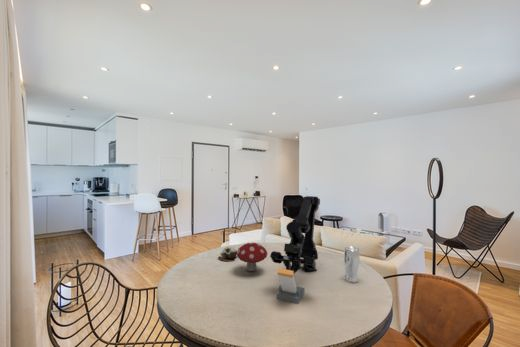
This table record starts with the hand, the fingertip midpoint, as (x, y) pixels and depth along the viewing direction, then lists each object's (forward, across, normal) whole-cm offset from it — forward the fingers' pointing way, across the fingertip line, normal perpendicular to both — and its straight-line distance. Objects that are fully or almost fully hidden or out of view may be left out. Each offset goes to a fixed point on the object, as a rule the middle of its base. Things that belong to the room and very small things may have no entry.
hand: (288, 279), depth 97 cm
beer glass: (-16, +22, +28) cm, 39 cm away
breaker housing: (+3, 0, +9) cm, 9 cm away
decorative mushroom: (-7, -26, +19) cm, 33 cm away
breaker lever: (+2, 0, +5) cm, 6 cm away
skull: (-15, -47, +27) cm, 57 cm away
